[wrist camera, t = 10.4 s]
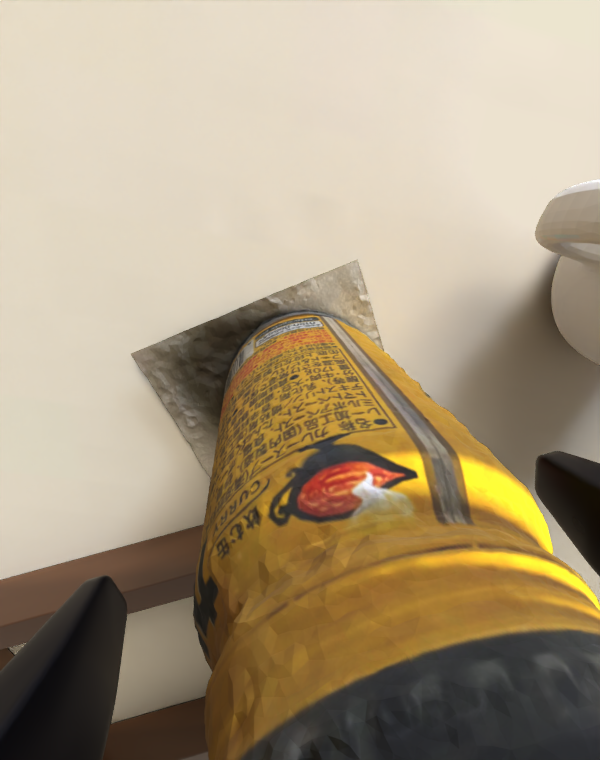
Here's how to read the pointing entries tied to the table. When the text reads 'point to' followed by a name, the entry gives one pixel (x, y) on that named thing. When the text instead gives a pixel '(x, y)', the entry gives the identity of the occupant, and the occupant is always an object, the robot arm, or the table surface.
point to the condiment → (366, 553)
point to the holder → (141, 591)
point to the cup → (575, 264)
